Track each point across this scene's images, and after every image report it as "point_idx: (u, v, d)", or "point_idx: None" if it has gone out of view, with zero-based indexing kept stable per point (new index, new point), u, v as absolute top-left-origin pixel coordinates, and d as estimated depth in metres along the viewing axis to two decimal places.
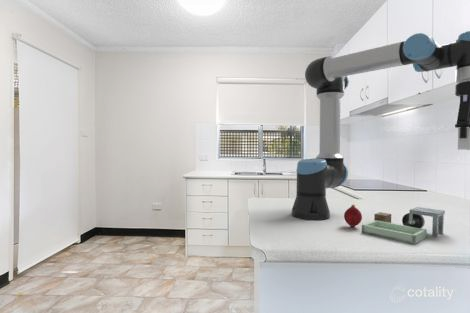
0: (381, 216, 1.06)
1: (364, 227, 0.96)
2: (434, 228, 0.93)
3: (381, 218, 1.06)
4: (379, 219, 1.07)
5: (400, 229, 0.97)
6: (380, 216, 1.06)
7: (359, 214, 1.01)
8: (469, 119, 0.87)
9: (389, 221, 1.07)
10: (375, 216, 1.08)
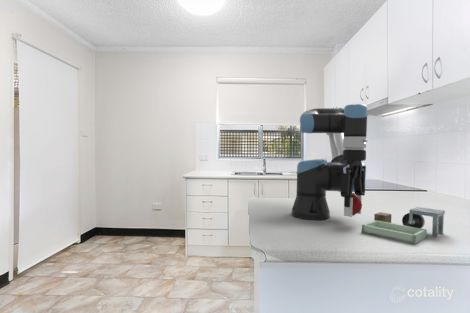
0: (381, 216, 1.06)
1: (364, 227, 0.96)
2: (434, 228, 0.93)
3: (381, 218, 1.06)
4: (379, 219, 1.07)
5: (400, 229, 0.97)
6: (380, 216, 1.06)
7: (359, 202, 1.02)
8: (351, 190, 1.00)
9: (389, 221, 1.07)
10: (375, 216, 1.08)
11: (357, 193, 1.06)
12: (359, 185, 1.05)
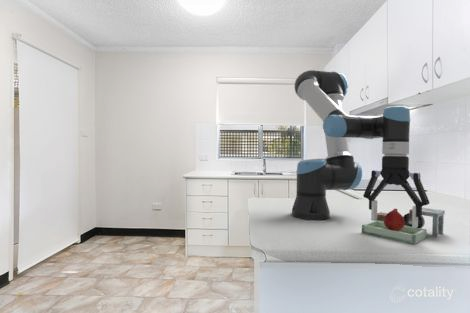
0: (381, 216, 1.06)
1: (364, 227, 0.96)
2: (434, 228, 0.93)
3: (381, 218, 1.06)
4: (379, 219, 1.07)
5: None
6: (380, 216, 1.06)
7: (390, 218, 0.93)
8: (372, 193, 0.98)
9: None
10: None
11: None
12: (409, 195, 0.90)
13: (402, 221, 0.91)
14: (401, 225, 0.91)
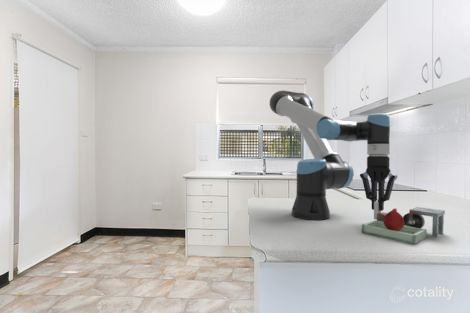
0: (383, 216, 1.06)
1: (364, 227, 0.96)
2: (434, 228, 0.93)
3: (383, 218, 1.06)
4: (381, 219, 1.06)
5: None
6: (382, 216, 1.06)
7: (389, 218, 0.93)
8: (371, 194, 1.10)
9: None
10: (377, 216, 1.07)
11: None
12: None
13: (402, 221, 0.92)
14: (401, 225, 0.91)
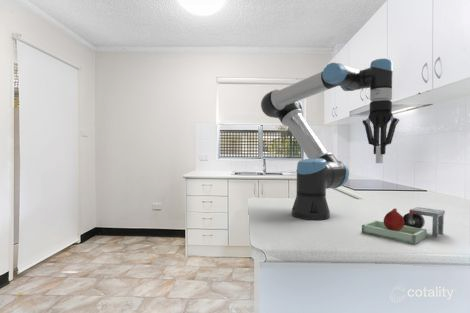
0: None
1: (364, 227, 0.96)
2: (434, 228, 0.93)
3: None
4: None
5: None
6: None
7: (389, 218, 0.93)
8: (373, 139, 1.12)
9: None
10: None
11: None
12: None
13: (402, 221, 0.92)
14: (401, 225, 0.91)
